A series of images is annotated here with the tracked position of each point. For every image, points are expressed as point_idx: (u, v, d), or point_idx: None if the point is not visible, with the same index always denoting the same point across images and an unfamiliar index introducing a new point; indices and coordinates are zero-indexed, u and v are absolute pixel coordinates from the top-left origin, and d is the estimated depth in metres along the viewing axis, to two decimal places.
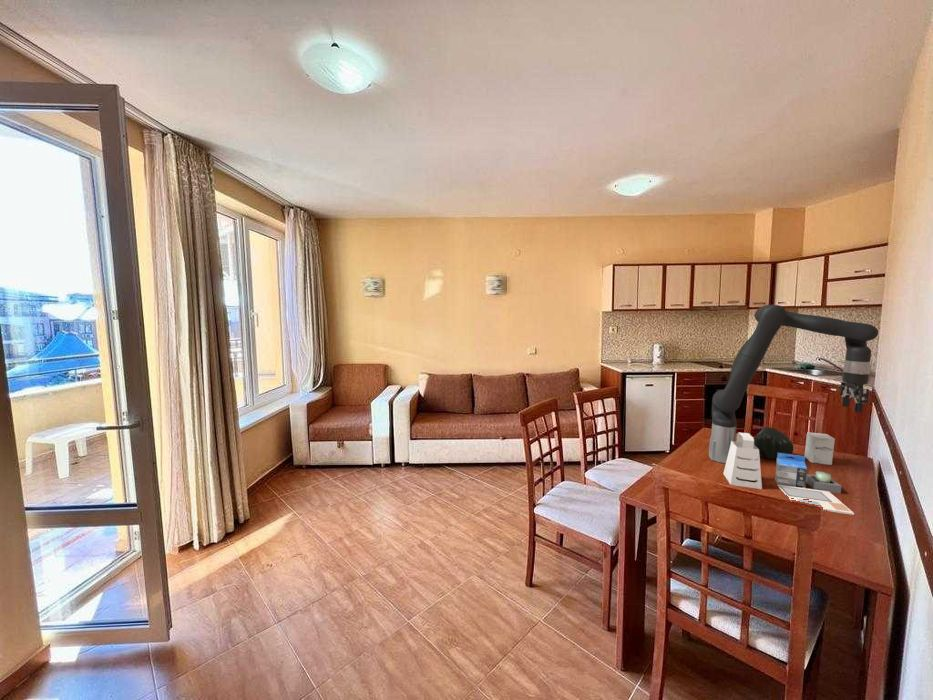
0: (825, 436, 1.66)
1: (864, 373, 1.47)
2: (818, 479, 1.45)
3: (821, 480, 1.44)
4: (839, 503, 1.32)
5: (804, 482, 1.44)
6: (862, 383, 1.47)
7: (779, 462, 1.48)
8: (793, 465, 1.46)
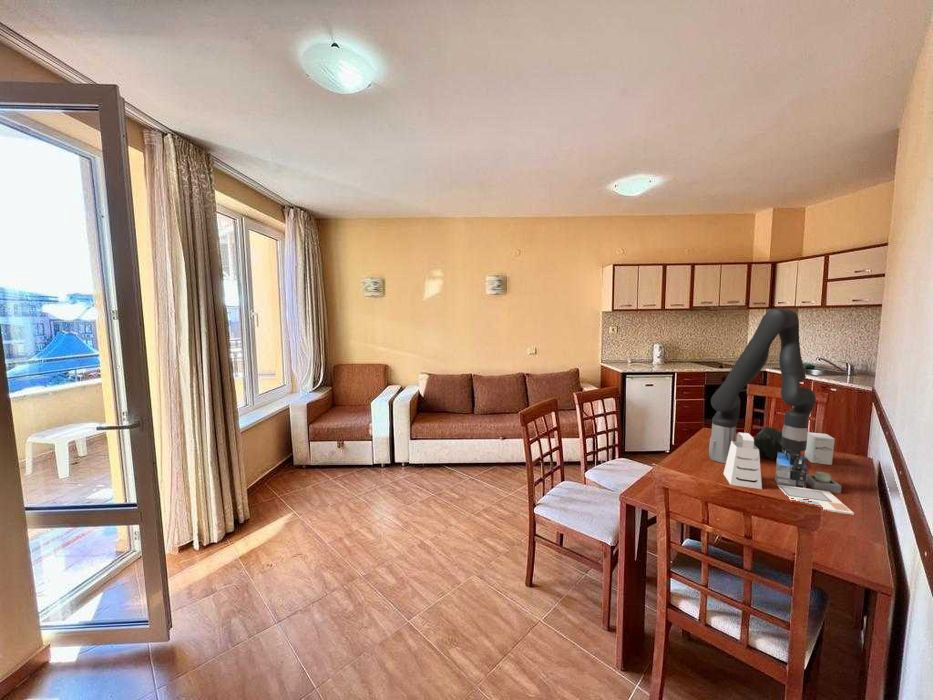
0: (825, 436, 1.66)
1: (801, 440, 1.42)
2: (818, 479, 1.45)
3: (821, 480, 1.44)
4: (839, 503, 1.32)
5: (804, 482, 1.44)
6: (799, 450, 1.42)
7: (779, 462, 1.48)
8: (793, 465, 1.46)
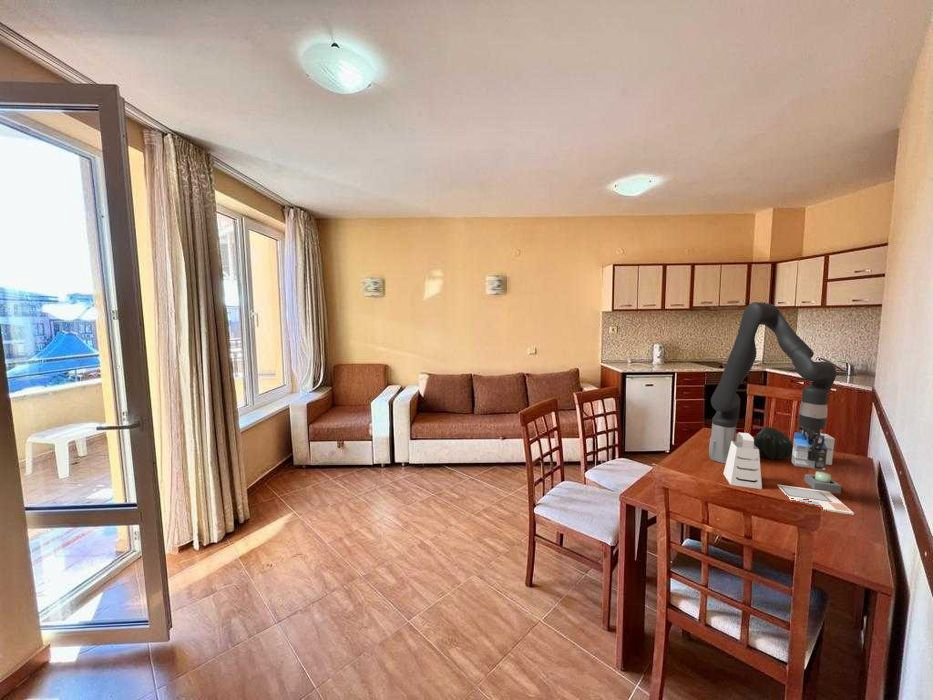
0: (825, 436, 1.66)
1: (820, 417, 1.32)
2: (818, 479, 1.45)
3: (821, 480, 1.44)
4: (839, 503, 1.32)
5: (824, 463, 1.34)
6: (818, 428, 1.32)
7: (796, 442, 1.38)
8: None
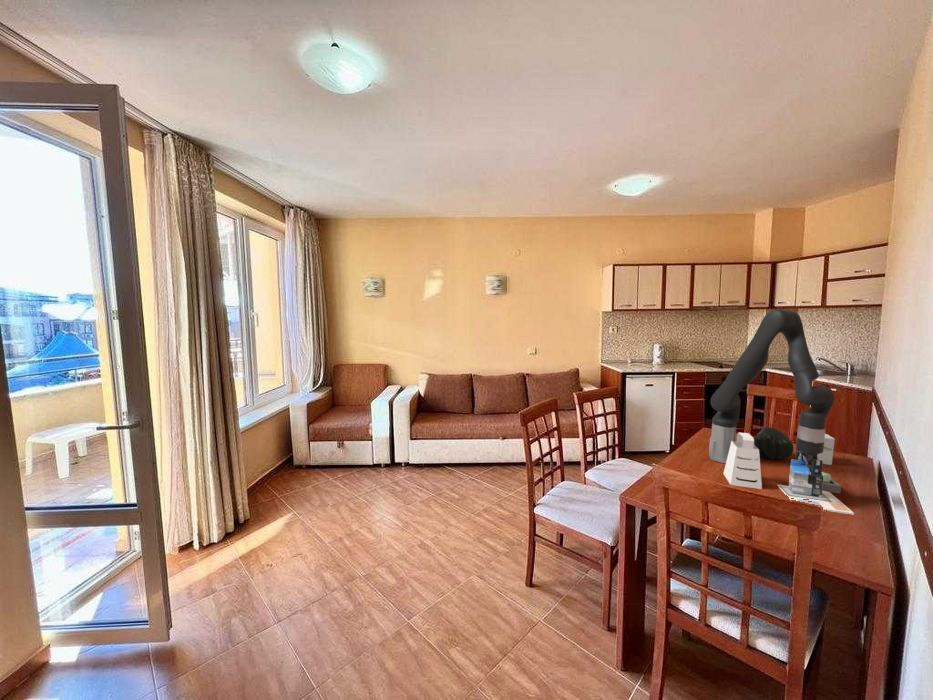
0: (825, 436, 1.66)
1: (818, 442, 1.33)
2: None
3: None
4: (839, 503, 1.32)
5: (820, 490, 1.36)
6: (816, 452, 1.33)
7: (793, 469, 1.40)
8: (808, 473, 1.37)
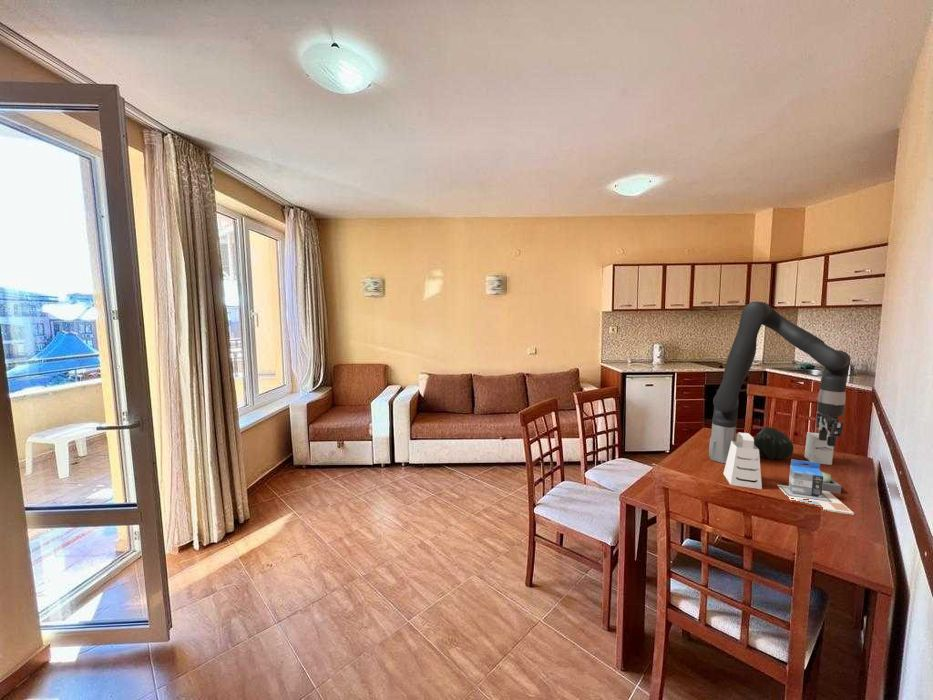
0: None
1: (839, 404, 1.38)
2: None
3: None
4: (839, 503, 1.32)
5: (820, 490, 1.36)
6: (837, 414, 1.38)
7: (793, 469, 1.40)
8: (808, 473, 1.37)
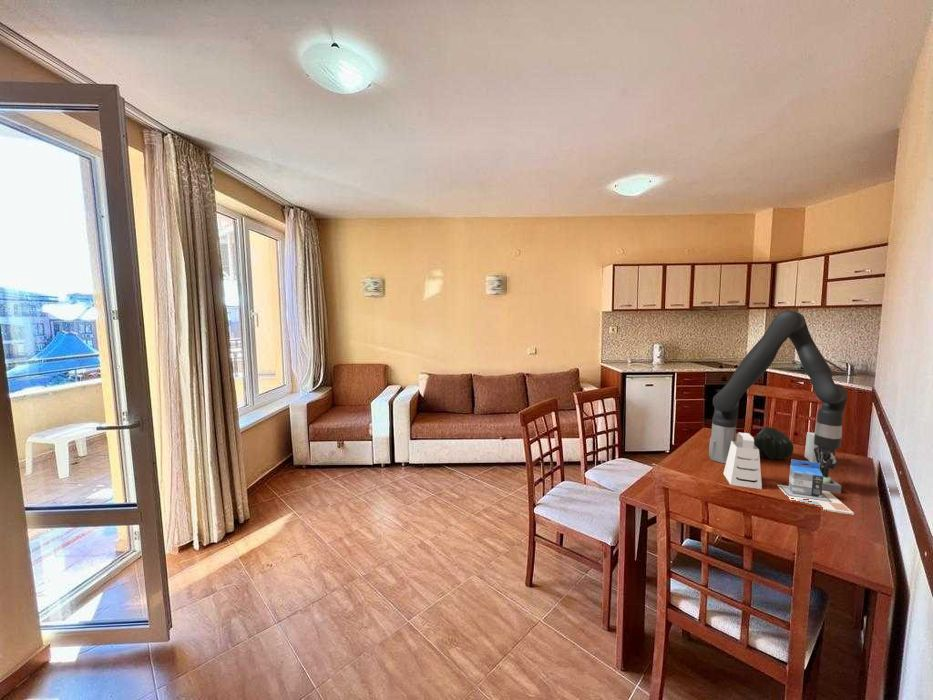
0: None
1: (835, 438, 1.39)
2: None
3: None
4: (839, 503, 1.32)
5: (820, 490, 1.36)
6: (834, 448, 1.40)
7: (793, 469, 1.40)
8: (808, 473, 1.37)
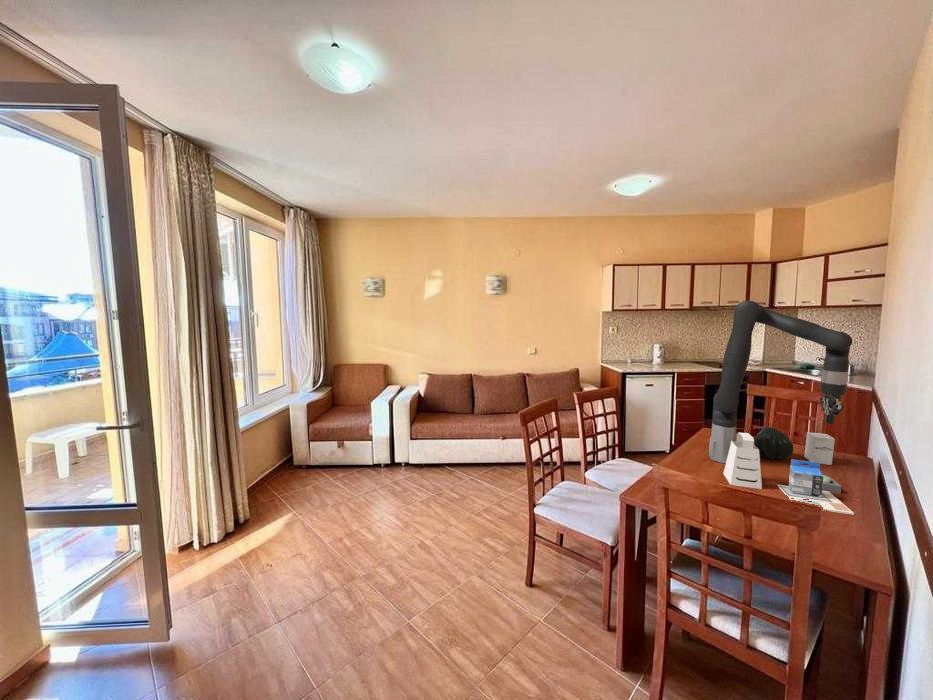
0: (825, 436, 1.66)
1: (841, 384, 1.41)
2: None
3: None
4: (839, 503, 1.32)
5: (820, 490, 1.36)
6: (839, 394, 1.41)
7: (793, 469, 1.40)
8: (808, 473, 1.37)
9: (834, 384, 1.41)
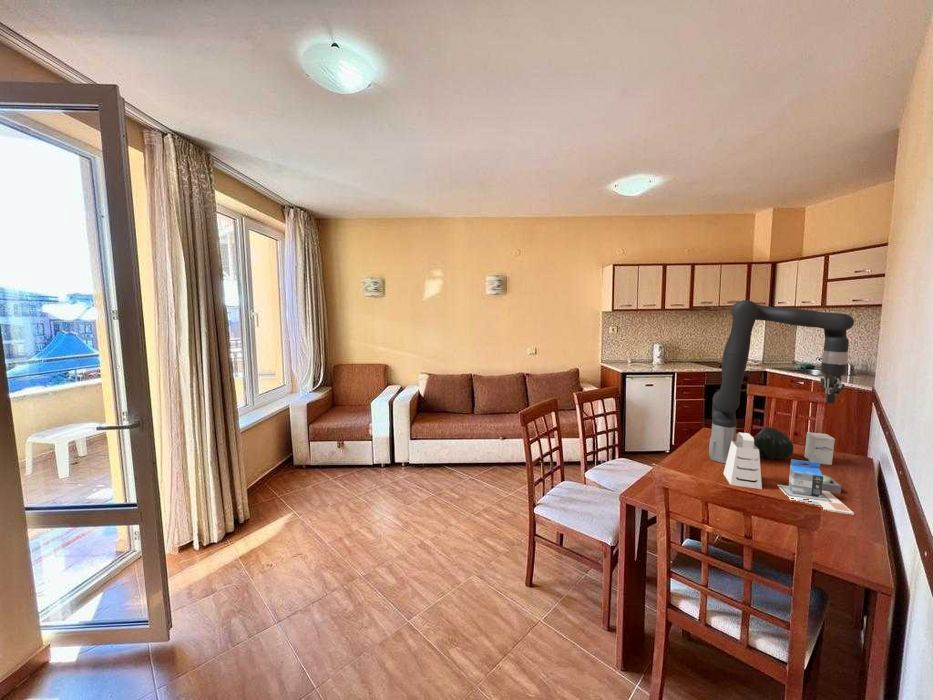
0: (825, 436, 1.66)
1: (842, 363, 1.45)
2: None
3: None
4: (839, 503, 1.32)
5: (820, 490, 1.36)
6: (840, 373, 1.46)
7: (793, 469, 1.40)
8: (808, 473, 1.37)
9: (835, 364, 1.46)
